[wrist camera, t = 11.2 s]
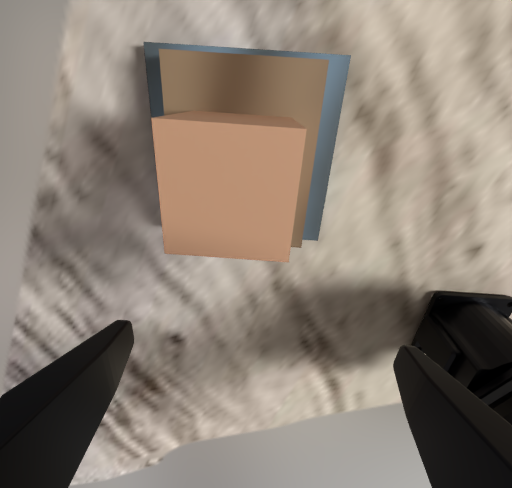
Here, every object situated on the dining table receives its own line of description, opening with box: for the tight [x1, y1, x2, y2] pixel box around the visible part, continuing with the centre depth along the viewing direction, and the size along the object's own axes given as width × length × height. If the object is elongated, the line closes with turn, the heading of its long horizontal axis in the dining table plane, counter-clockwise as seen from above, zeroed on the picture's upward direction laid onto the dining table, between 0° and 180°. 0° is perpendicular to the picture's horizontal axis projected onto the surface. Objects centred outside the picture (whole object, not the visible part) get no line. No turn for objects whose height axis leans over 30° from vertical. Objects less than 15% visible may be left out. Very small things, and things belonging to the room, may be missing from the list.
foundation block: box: [144, 42, 351, 248], centre depth 17 cm, size 11×11×3 cm
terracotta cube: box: [151, 111, 307, 262], centre depth 13 cm, size 5×5×6 cm
